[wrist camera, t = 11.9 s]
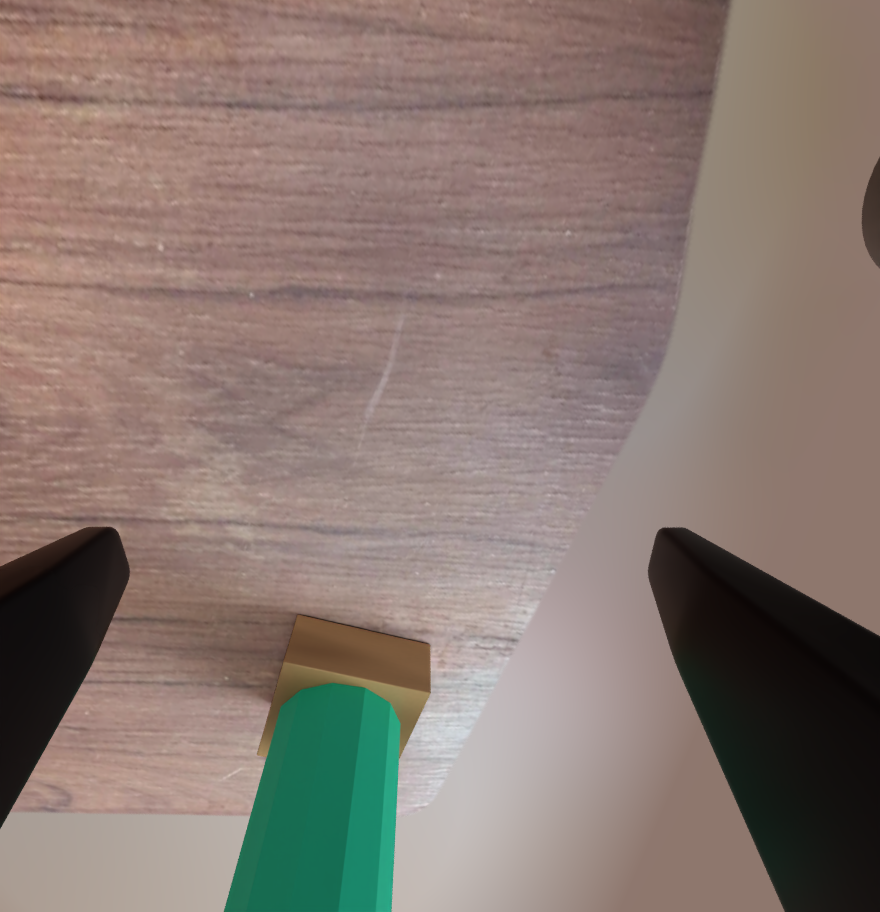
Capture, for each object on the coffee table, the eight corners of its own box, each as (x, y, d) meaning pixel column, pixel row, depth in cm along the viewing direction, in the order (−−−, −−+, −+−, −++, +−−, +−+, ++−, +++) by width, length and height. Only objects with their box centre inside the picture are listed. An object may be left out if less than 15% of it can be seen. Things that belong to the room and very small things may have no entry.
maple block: (392, 728, 31) (389, 780, 28) (271, 704, 30) (256, 755, 27) (430, 644, 28) (431, 693, 25) (297, 613, 27) (283, 661, 24)
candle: (368, 776, 28) (332, 1143, 17) (258, 742, 26) (145, 1120, 16) (422, 707, 26) (418, 1084, 15) (305, 666, 24) (208, 1051, 13)
